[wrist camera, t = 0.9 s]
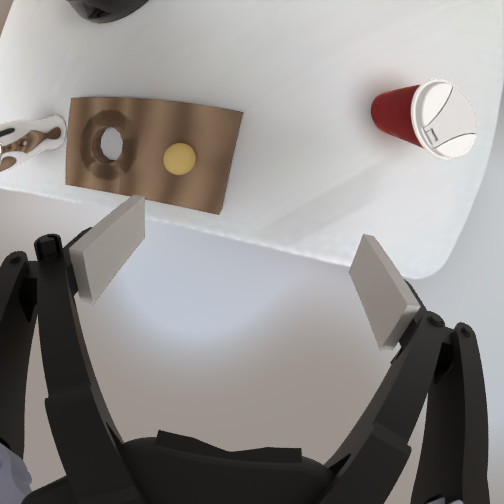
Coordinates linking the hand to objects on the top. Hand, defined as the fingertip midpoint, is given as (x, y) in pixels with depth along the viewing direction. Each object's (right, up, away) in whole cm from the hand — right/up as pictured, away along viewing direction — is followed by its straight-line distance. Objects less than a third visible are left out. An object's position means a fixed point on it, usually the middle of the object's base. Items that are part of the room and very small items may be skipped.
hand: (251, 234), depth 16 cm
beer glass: (-33, +19, +18) cm, 42 cm away
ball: (-9, +10, +16) cm, 21 cm away
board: (-15, +14, +19) cm, 28 cm away
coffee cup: (+19, +18, +15) cm, 30 cm away
